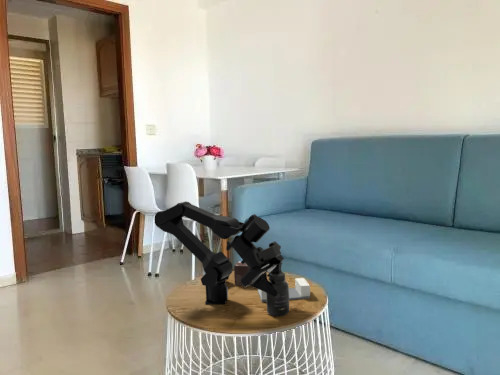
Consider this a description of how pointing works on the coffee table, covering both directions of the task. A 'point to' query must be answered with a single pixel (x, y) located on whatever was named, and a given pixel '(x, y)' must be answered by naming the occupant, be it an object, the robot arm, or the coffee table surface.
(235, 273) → the box
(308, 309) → the coffee table surface
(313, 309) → the coffee table surface
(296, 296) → the rail plate
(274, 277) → the supplement bottle
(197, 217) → the robot arm
